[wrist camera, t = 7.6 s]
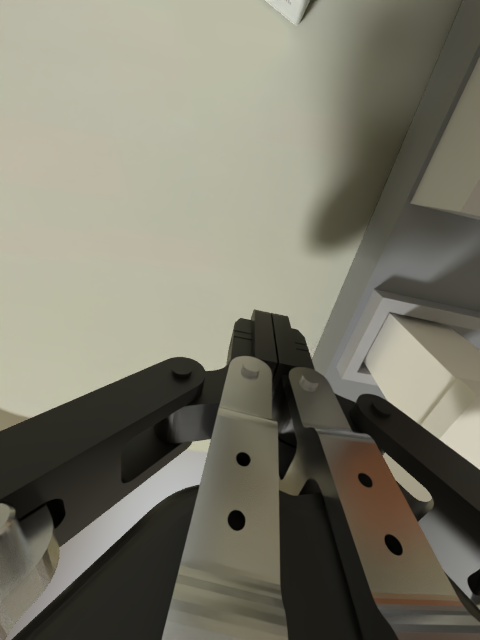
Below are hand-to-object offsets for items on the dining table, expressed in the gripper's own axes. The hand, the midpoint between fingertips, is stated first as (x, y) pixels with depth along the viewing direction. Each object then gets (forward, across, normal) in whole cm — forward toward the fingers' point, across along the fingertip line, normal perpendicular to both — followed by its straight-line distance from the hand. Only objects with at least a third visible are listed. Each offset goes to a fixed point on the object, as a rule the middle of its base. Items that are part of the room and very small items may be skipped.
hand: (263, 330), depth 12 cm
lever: (+2, -7, 0) cm, 8 cm away
